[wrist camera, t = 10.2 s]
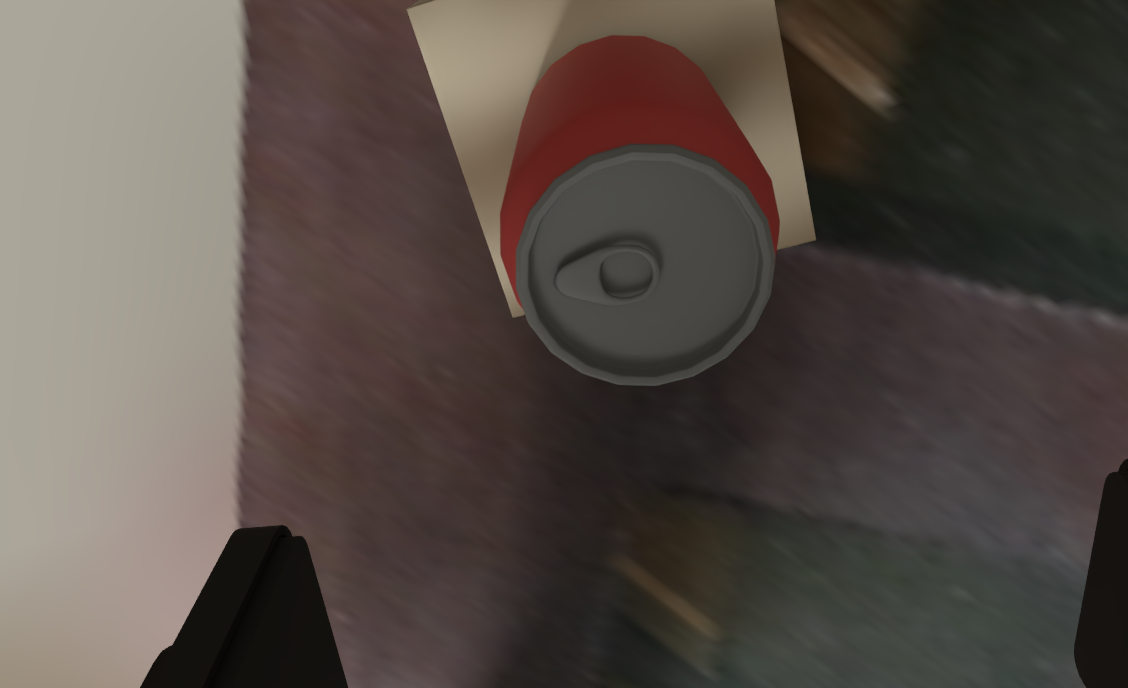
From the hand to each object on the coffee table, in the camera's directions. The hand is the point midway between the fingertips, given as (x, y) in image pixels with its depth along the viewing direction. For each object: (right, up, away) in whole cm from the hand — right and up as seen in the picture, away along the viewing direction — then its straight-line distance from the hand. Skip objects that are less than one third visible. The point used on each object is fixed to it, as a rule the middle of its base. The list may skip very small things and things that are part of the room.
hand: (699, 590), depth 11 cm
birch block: (0, +12, +23) cm, 26 cm away
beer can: (0, +10, +20) cm, 22 cm away
